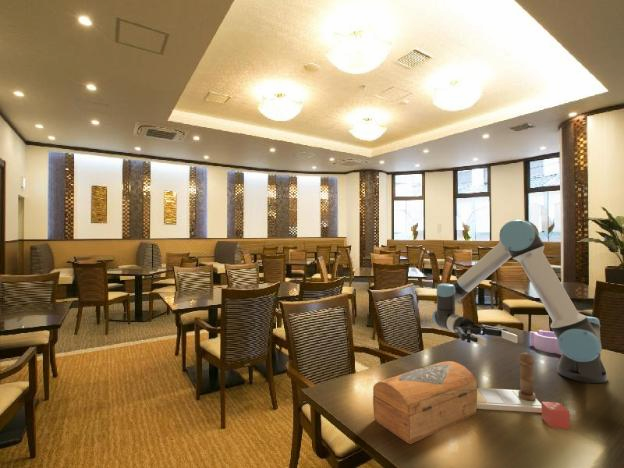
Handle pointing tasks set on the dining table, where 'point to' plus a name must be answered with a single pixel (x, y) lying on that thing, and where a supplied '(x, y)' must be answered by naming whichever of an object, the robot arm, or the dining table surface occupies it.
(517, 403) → the board
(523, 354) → the pawn
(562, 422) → the die
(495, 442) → the dining table surface
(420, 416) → the wooden box
